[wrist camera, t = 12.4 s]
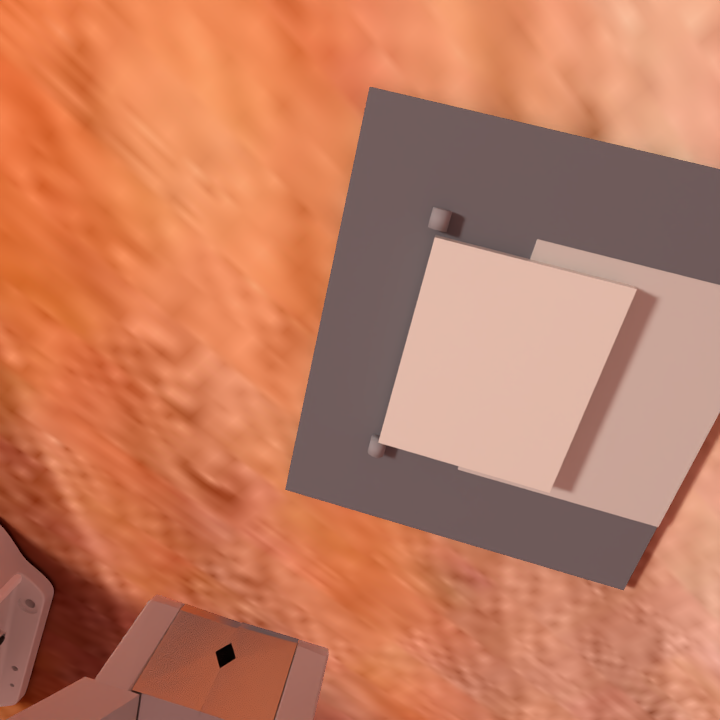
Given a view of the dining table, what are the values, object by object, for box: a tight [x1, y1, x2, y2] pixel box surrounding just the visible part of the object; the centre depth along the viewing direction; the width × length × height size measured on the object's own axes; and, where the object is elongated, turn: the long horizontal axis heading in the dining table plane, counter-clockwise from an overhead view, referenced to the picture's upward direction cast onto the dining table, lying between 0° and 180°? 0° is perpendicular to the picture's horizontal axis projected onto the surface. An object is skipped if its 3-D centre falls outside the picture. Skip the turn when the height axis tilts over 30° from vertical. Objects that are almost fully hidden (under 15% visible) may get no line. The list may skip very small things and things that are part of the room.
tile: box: [378, 235, 637, 493], centre depth 29 cm, size 12×1×10 cm
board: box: [285, 87, 720, 590], centre depth 30 cm, size 24×22×2 cm
